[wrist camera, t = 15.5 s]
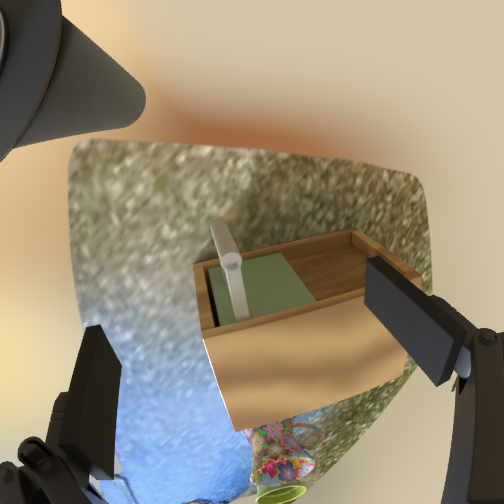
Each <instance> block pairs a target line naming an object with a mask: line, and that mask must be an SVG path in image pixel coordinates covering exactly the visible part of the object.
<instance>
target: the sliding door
mask: <svg viewBox="0 0 504 504" xmlns="http://www.w3.org/2000/svg"><path fill="white" fill-rule="evenodd" d="M210 228H211V232H212V235H213V239H214V242H215V246H216V249H217V253H218V256H219V260H220V265H221V266H220V267H215V268H211V269H208V272H209V277H210V281H211V286H212V291H213V296H214V300H215V305H216V309H217V314H218V318H219V323H220V326H224V325H229V324H233V323H237V322H241V321H245V320H249V319H253V318H257V317H261V316H265V315H269V314H273V313H277V312H280V311H284V310H288V309H292V308H295V307H299V306H303V305H306V304H310V303H313V302H317V301H316V300H315V299H314V297H313V296H312V294H311V293H310V292H309V290H308V289H307V288H306V286H305V285H304V283H303V282H302V281H301V279H300V278H299V277H298V275H297V274H296V273H295V271H294V270H293V268H292V267H291V266H290V264H289V263H288V262H287V260H286V259H285V258H284V256H283V255H282V254H281V253H276V254H272V255H267V256H263V257H259V258H254V259H250V260H246V261H242V257H241V254H240V252H239V250H238V248H237V246H236V243H235V241H234V239H233V237H232V235H231V232H230V230H229V228H228V226H227V223H226V222H225V221H224V220H223V219H215V220H214V221H213V222H212V223H211V226H210Z"/></svg>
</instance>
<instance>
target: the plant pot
mask: <svg viewBox="0 0 504 504" xmlns="http://www.w3.org/2000/svg"><path fill="white" fill-rule="evenodd" d="M257 490H258V492H257V499H256V503H257V504H280V503H284V502H288V501H290V500H293V499H295V498H297V497H299V496H301V495H302V494H304V493H305V492H306V490H307V488H306V486H304V485H303V484H302V483H301V481H299V480H298V479H297V480H295V481H293V482H290V483H287V484H283V485H278V486H270V487H263V486H257Z"/></svg>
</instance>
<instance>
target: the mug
mask: <svg viewBox="0 0 504 504" xmlns="http://www.w3.org/2000/svg"><path fill="white" fill-rule="evenodd" d="M294 421H295V420H294V419H293V417H291V418H287V419H284V420H280V421H277V422H273V423H270V424H266V425H262V426H258V427H254V428H250V429H246V430H242V431H241V432H242V434H244V435H245V437H246V438H247V440H248V441H249V444H250V446H251V450H252V458H253V462H252V471H251V475H250V481H251V482H252V483H253V484H255V485H257V486H263V487H270V486H278V485H283V484H287V483H290V482H293V481H295V480H297V479H300V478H301V477H303V476H305V475H306V474H308V473H309V472H310V471H311V470H312V469H313V468H314V467H315V465H316V460H315V459H314V457H312V456H311V455H310V454H309V453H307V452H306V451H305V450H304V448H305V449H315V448H317V447H319V446H320V445H321V444H322V442H323V440H324V434H323V432H322V431H321V430H320V429H319V428H317V427H316V426H313V425H310V424H305V423H297V424H294ZM301 426H304V427H310V428H313V429H315V430H317V431H318V432H319V433H320V440H319V441H318V443H317V444H315V445H313V446H305V445H303V444H302V443H301V442H298V440H297V438H296V436H295V434H294V431H293V427H301Z"/></svg>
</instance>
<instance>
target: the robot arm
mask: <svg viewBox="0 0 504 504" xmlns="http://www.w3.org/2000/svg"><path fill="white" fill-rule="evenodd" d="M9 36H10V34H9V23H8V19H7V16H6V14H5V12H4V11H3V9H2V8H1V7H0V78H1V75H2V72H3V69H4V66H5V63H6V58H7V54H8V48H9ZM364 304H365V306H366V307H367V308H368V309H369V310H370V311H371V312H372V313H373V314H374V315H375V317H376V318H377V319H378V320H379V321H380V322H381V323H382V324H383V325H384V327H385V328H386V329H387V330H388V331H389V332H390V333H391V335H392V336H393V337H394V338H395V339H396V340H397V341H398V342H399V344H400V345H401V346H402V347H403V348H404V349H405V350H406V352H407V353H408V354H409V355H410V356H411V357H412V359H413V360H414V361H415V362H416V363H417V364H418V366H419V367H420V368H421V369H422V370H423V371H424V373H425V374H426V375H427V376H428V377H429V378H430V379H431V381H432V382H433V383H434V385H435V386H436V387H437V386H439V385H441V384H443V383H444V382H446V381H448V380H449V379H450V377H451V375H452V373H453V370H454V371H455V372H456V373H457V374H458V376H457V378H456V380H455V382H454V385H453V387H452V390H451V391H452V392H453V391H454V389H455V387H456V396H455V413H454V424H453V434H452V442H451V450H450V457H449V464H448V470H447V475H446V481H445V486H444V491H443V496H442V500H441V504H504V332H501V333H496V332H495V331H493V330H491V329H488V328H480V329H478V328H476V327H475V326H474V325H473V324H472V323H471V322H469V321H468V320H467V319H466V318H465V317H464V316H463V315H461V314H460V313H459V312H457V310H456V309H454V308H453V307H451V305H450V304H448V303H447V302H446V301H445V300H444V299H442V298H440V297H437V296H435V295H432V296H429V297H428V296H427V295H426V294H425V293H424V292H423V291H421V290H420V289H419V288H418V287H417V286H415V285H414V284H413V283H412V282H411V281H409V280H408V279H407V278H406V277H405V276H403V275H402V274H401V273H400V272H398V271H397V270H396V269H395V268H394V267H392V266H391V265H390V264H389V263H387V262H386V261H385V260H384V259H382V258H381V257H380V256H375V257H372V258H368V259H366V273H365V294H364ZM121 369H122V365H121V363H120V361H119V360H118V358H117V356H116V354H115V352H114V350H113V348H112V347H111V345H110V343H109V341H108V339H107V337H106V335H105V333H104V331H103V329H102V327H101V325H95V326H90V327H86V330H85V333H84V336H83V340H82V343H81V347H80V350H79V353H78V357H77V360H76V364H75V368H74V371H73V375H72V379H71V383H70V387H69V391H68V392H61V393H60V394H59V396H58V397H57V399H56V400H55V402H54V406H53V410H52V412H53V413H52V414H51V418H50V419H51V421H50V423H49V427H48V432H47V436H46V441H45V443H44V442H43V441H42V440H41V439H40V438H38V437H29V438H27V439H25V440H24V441H23V442H22V443H21V444H20V447H19V448H18V459H19V461H20V462H22V463H23V464H24V465H25V466H21V467H17V466H15V465H14V464H13V463H12V462H8V461H6V462H3V463H1V464H0V504H109V503H108V502H107V501H106V500H105V499H104V498H103V497H102V495H101V494H100V493H99V492H98V491H97V489H96V488H95V487H94V486H93V485H92V484H91V483H90V482H89V474H90V475H92V476H93V477H94V478H95V479H96V480H114V454H115V434H116V420H117V407H118V396H119V387H120V378H121Z"/></svg>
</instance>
